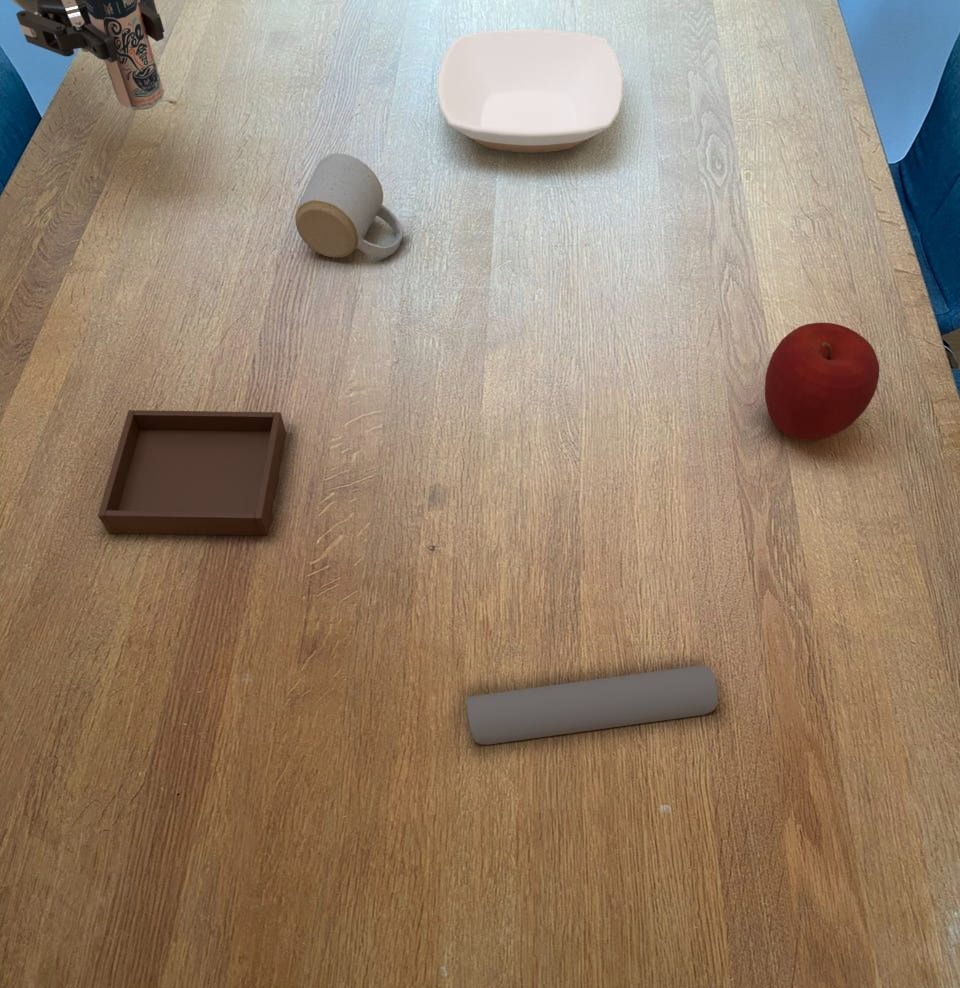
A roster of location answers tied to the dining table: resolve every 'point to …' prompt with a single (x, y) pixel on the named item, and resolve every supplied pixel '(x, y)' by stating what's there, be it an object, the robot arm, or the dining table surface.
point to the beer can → (128, 52)
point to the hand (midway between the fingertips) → (135, 40)
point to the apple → (820, 380)
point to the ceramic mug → (343, 209)
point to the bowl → (530, 88)
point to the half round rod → (591, 704)
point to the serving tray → (194, 473)
